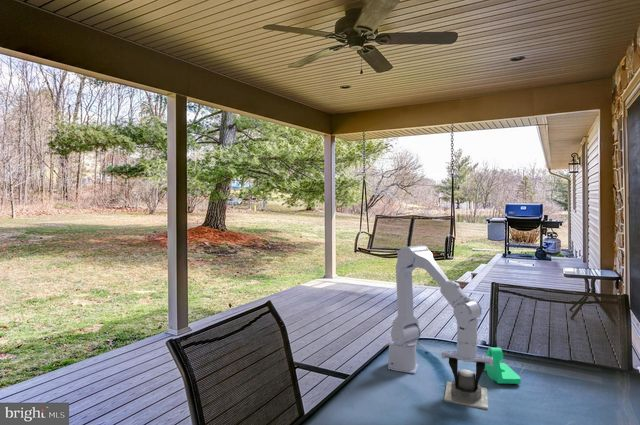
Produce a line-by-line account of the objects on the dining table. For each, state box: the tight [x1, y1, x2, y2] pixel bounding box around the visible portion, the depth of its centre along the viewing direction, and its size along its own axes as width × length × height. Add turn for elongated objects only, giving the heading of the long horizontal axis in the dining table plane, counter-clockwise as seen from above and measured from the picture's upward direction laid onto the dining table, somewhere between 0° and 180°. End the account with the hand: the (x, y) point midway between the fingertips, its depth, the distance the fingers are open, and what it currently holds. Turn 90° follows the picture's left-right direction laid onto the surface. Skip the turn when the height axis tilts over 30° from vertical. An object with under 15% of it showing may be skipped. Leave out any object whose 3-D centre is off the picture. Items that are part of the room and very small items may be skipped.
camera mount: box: [484, 346, 522, 385], centre depth 130 cm, size 12×8×10 cm, turn 179°
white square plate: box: [443, 379, 489, 410], centre depth 118 cm, size 12×12×3 cm
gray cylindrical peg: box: [458, 368, 476, 391], centre depth 118 cm, size 5×5×5 cm
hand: (466, 384), depth 118 cm, fingers closed on gray cylindrical peg, 5 cm apart
